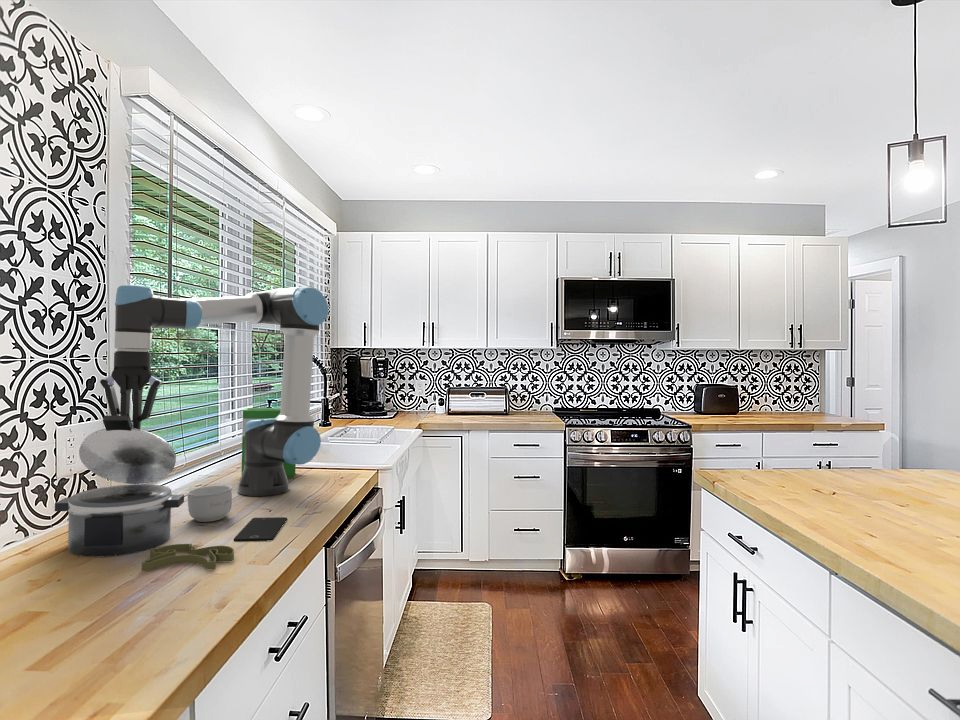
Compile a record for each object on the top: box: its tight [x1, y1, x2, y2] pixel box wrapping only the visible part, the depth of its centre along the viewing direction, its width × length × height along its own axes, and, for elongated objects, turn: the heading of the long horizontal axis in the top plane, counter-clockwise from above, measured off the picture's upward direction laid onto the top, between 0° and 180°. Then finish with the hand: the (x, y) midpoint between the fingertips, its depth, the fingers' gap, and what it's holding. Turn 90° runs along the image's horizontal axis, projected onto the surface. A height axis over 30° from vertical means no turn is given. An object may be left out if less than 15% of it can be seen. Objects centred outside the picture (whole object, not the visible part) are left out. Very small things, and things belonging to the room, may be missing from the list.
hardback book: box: [240, 407, 297, 478], centre depth 207 cm, size 18×7×24 cm, turn 106°
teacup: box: [186, 483, 233, 523], centre depth 154 cm, size 14×11×8 cm
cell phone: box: [233, 516, 288, 542], centre depth 145 cm, size 9×18×1 cm, turn 7°
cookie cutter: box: [141, 543, 235, 572], centre depth 123 cm, size 18×12×2 cm, turn 97°
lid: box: [78, 415, 177, 485], centre depth 136 cm, size 20×23×2 cm
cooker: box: [54, 483, 185, 557], centre depth 134 cm, size 25×22×11 cm
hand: (129, 449), depth 138 cm, fingers closed
